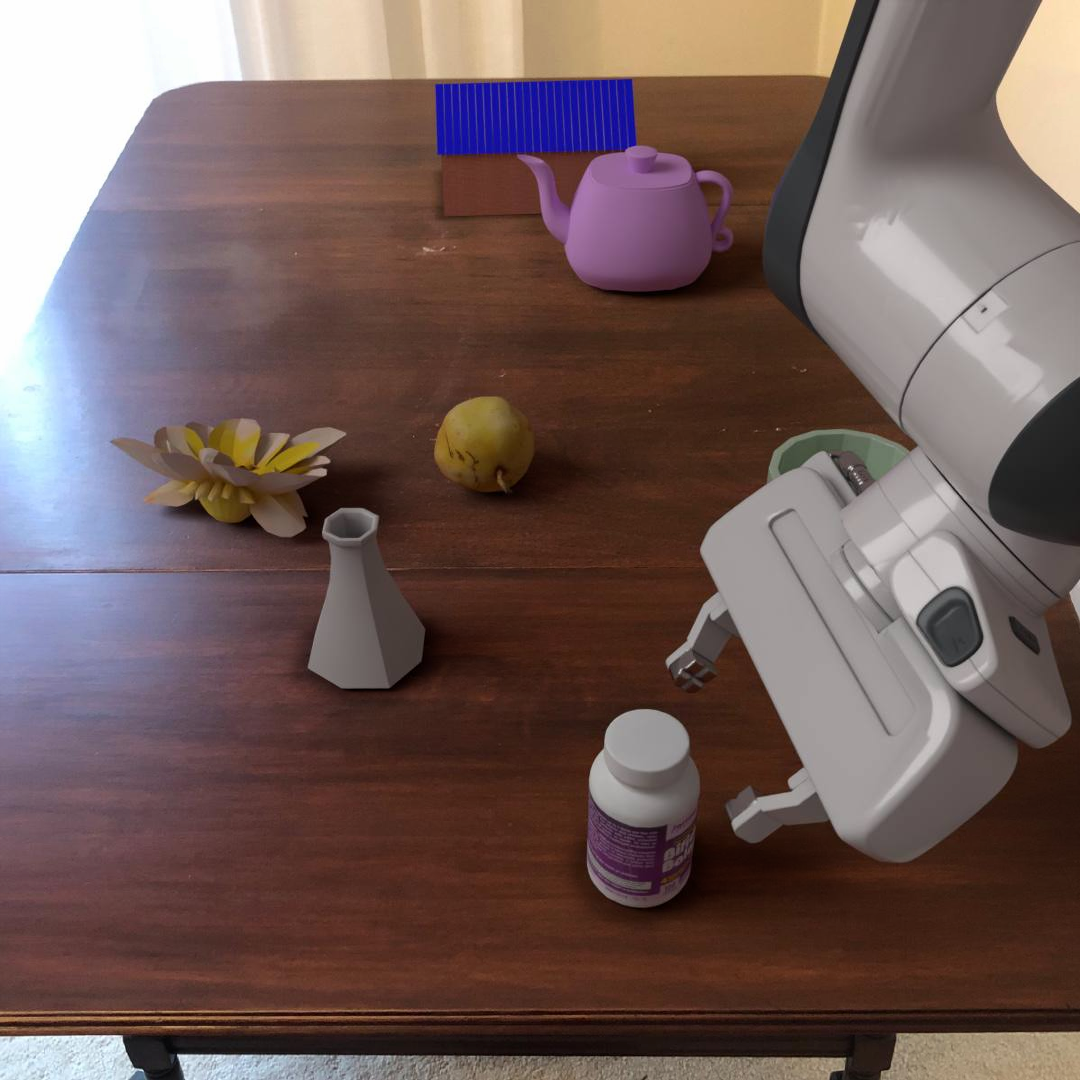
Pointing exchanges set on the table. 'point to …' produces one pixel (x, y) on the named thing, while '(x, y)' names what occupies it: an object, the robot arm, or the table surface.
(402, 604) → the flask
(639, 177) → the teapot
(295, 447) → the decorative flower
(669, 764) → the pill bottle
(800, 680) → the robot arm
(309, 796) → the table surface
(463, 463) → the fruit
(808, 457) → the crock
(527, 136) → the house
